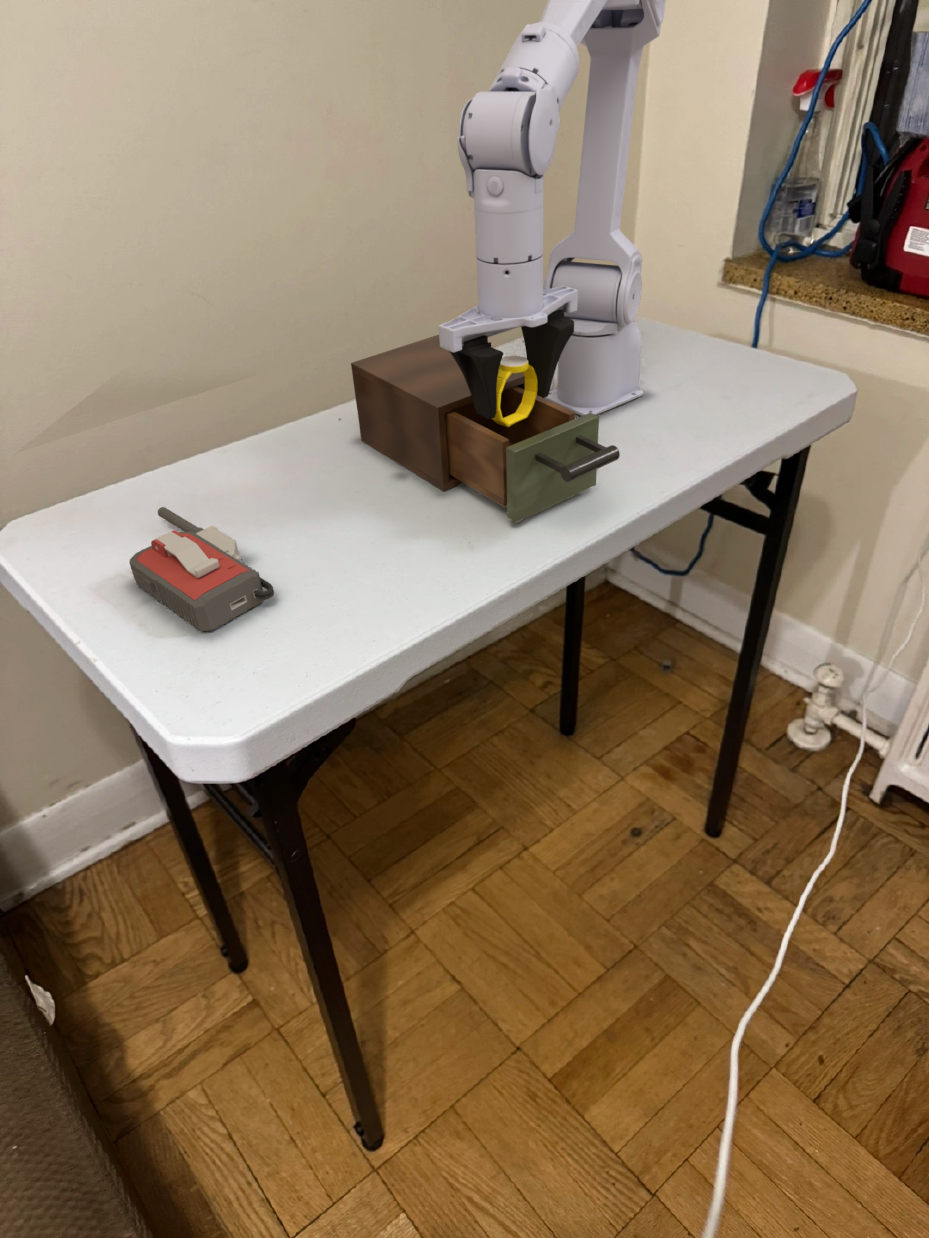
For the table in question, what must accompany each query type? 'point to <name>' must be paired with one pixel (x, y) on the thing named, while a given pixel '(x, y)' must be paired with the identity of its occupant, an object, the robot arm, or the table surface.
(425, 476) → the cabinet
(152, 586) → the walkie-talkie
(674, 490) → the table surface
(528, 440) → the drawer
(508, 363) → the watch
